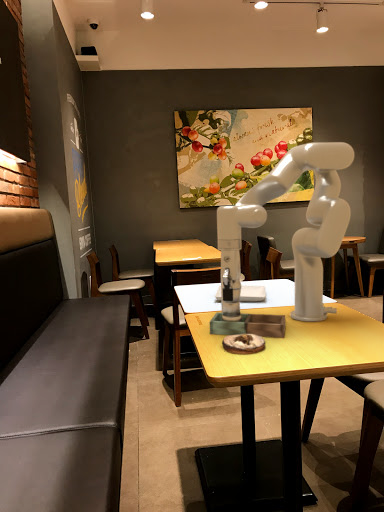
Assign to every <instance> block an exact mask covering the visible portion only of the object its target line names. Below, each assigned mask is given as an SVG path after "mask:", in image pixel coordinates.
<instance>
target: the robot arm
mask: <svg viewBox="0 0 384 512" xmlns="http://www.w3.org/2000/svg"><path fill="white" fill-rule="evenodd" d="M354 160H355V150H354V148H353V147H352V145H350V144H349V143H346V142H343V141H342V142H341V141H340V142H339V141H338V142H337V141H336V142H335V141H334V142H333V141H332V142H331V141H330V142H307V143H304V144H300V145H297V146H293V147H291V148H290V149H288V151H287V152H286V153H285V154H284V155H283V156H282V157H281V159H280V160H279V161H278V163H277V164H275V166H274V167H273V168H272V169H271V170H270V171H269V173H268V174H267V175H266V176H265V177H263V178H262V179H261V180H260V181H258V182H257V183H256V184H254V185H253V186H252V187H251V188H250V189H248V190H247V191H246V192H244V194H243V195H242V196H241V197H240V199H239V200H238V201H237V202H236V203H235V204H234V205H220V206H219V207H217V209H216V225H217V226H216V230H217V231H216V232H217V250H218V251H220V280H221V279H222V281H223V301H233V288H232V283H233V280H235V281H237V280H238V279H239V280H240V278H241V274H242V273H241V256H240V250H242V228H249V229H250V228H251V229H256V228H259V227H261V226H263V225H264V224H265V223H266V221H267V219H268V213H267V210H266V209H265V207H263V206H264V205H266V204H267V203H269V202H271V201H273V200H275V199H277V198H280V197H282V196H284V195H285V194H286V193H288V192H289V190H290V189H291V188H292V186H293V185H295V183H296V182H297V180H298V179H299V178H300V177H301V176H302V175H303V173H305V172H307V171H312V172H313V175H314V176H315V186H314V189H313V193H312V195H311V198H310V200H309V203H308V207H307V209H306V213H305V218H306V221H307V223H309V224H311V226H312V225H313V226H316V227H302V228H299V229H298V230H296V231H295V232H294V234H293V235H292V238H291V248H292V253H293V260H294V309H293V310H292V311H291V312H290V313H289V315H290V316H289V317H291V319H294V320H296V321H301V322H321V321H324V320H326V319H327V318H328V314H337V312H338V310H337V309H338V308H337V307H332V306H325V305H324V296H323V295H324V294H323V293H324V290H323V289H324V288H323V287H324V283H323V282H324V267H323V266H324V265H323V261H322V259H323V258H324V259H328V258H332V257H333V256H335V255H336V254H337V252H338V251H340V250H339V249H340V247H341V245H342V243H343V240H344V237H345V235H346V232H347V229H348V226H349V224H350V221H351V214H352V210H351V207H350V204H349V203H348V202H347V200H345V199H343V198H340V197H339V196H340V192H341V188H342V182H341V180H340V176H339V174H338V172H337V171H339V170H343V169H347V168H348V167H350V166H351V165H352V164H353V162H354ZM317 226H319V227H317ZM321 258H322V259H321ZM229 272H230V274H229Z"/></svg>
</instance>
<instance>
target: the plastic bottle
mask: <svg viewBox="0 0 384 512" xmlns="http://www.w3.org/2000/svg"><path fill="white" fill-rule="evenodd" d="M229 274H230V272H229ZM220 286H221V288H222V294H223V282H222V285H221V284H220ZM241 286H242V283H241V281H240V278H239V279H238V280H237V281H235V280H233V283H232V288H233V301H223V316H222V321H225V322H242V318H241V302H240V294H241Z"/></svg>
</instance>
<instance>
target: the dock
mask: <svg viewBox="0 0 384 512" xmlns="http://www.w3.org/2000/svg"><path fill="white" fill-rule="evenodd" d="M240 313H241V312H240ZM222 316H223V313H222V312H215V314H214V315H213V317H212V318H211V319H210V321H209V335H221V336H223V335H225V336H229V335H238V334H255V335H257V336H261V337H262V338H279V339H285V331H286V314H265V313H263V314H262V313H241V318H242V322H225V321H222Z"/></svg>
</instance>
